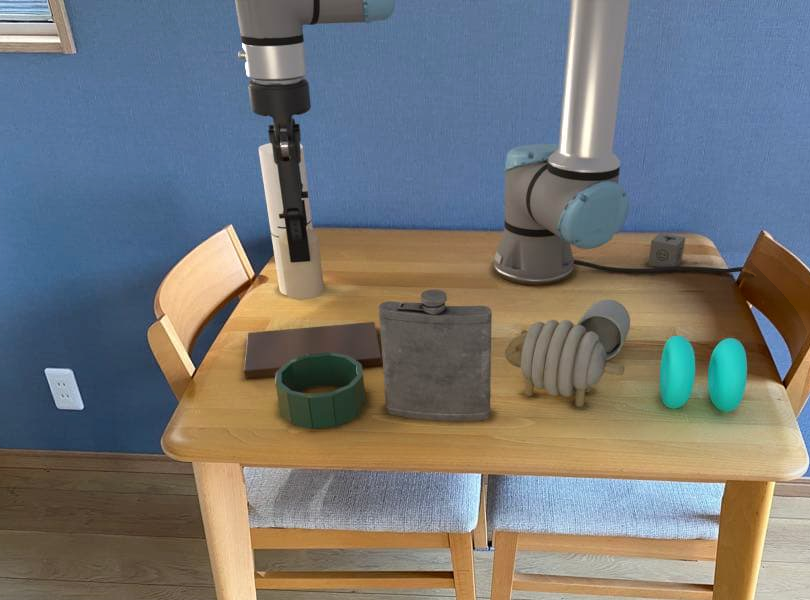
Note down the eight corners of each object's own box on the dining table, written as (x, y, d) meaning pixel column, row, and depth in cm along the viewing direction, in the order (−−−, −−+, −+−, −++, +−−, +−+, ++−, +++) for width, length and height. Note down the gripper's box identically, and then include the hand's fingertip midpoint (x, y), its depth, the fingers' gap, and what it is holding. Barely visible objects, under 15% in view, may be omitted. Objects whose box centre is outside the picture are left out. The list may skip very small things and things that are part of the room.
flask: (488, 424, 101) (490, 302, 91) (383, 417, 102) (373, 296, 92) (490, 409, 104) (492, 289, 94) (388, 403, 105) (380, 284, 96)
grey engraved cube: (681, 261, 148) (685, 237, 145) (673, 270, 145) (677, 245, 142) (657, 256, 150) (660, 232, 148) (648, 265, 147) (651, 240, 144)
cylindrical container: (310, 297, 134) (292, 154, 120) (273, 294, 135) (250, 151, 121) (325, 281, 140) (309, 143, 126) (289, 278, 141) (269, 140, 127)
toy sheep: (513, 366, 114) (516, 299, 108) (625, 385, 110) (635, 316, 103) (493, 403, 105) (494, 332, 99) (614, 424, 101) (623, 352, 95)
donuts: (655, 383, 110) (665, 322, 105) (726, 387, 109) (739, 325, 104) (663, 422, 102) (673, 357, 96) (739, 426, 101) (754, 361, 95)
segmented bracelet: (362, 378, 111) (359, 349, 108) (368, 423, 101) (365, 391, 99) (281, 386, 109) (276, 356, 106) (280, 432, 99) (274, 400, 97)
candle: (292, 303, 108) (282, 236, 103) (282, 289, 113) (272, 224, 107) (329, 296, 111) (322, 230, 105) (317, 282, 115) (310, 218, 109)
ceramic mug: (629, 341, 121) (634, 297, 117) (620, 365, 114) (625, 319, 110) (565, 331, 124) (567, 288, 120) (552, 354, 117) (554, 309, 113)
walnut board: (374, 329, 124) (374, 321, 123) (381, 366, 114) (381, 357, 113) (249, 340, 120) (247, 332, 120) (245, 379, 111) (243, 370, 110)
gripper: (250, 67, 102) (274, 231, 115) (243, 94, 87) (271, 280, 100) (306, 65, 104) (324, 228, 116) (309, 92, 88) (329, 276, 101)
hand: (300, 252), depth 108 cm, fingers closed on candle, 5 cm apart
